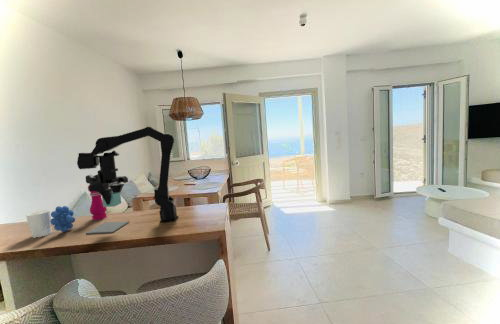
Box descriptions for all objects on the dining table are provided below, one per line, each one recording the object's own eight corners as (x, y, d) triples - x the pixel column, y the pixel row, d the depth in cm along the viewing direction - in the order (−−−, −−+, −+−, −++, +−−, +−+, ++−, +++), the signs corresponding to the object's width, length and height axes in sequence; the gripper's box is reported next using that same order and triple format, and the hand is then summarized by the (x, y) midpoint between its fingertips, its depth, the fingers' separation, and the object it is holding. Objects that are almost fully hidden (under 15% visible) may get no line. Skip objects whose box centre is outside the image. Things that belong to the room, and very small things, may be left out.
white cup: (34, 239, 103) (30, 216, 102) (27, 236, 108) (23, 214, 106) (56, 232, 110) (52, 210, 109) (49, 230, 114) (45, 209, 113)
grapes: (63, 236, 104) (58, 209, 102) (48, 237, 104) (43, 210, 103) (84, 226, 115) (80, 201, 114) (70, 227, 116) (66, 202, 115)
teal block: (121, 203, 110) (120, 192, 110) (114, 206, 105) (113, 194, 105) (110, 203, 111) (109, 192, 110) (103, 206, 106) (101, 195, 105)
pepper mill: (102, 220, 123) (96, 180, 120) (88, 221, 123) (81, 181, 121) (110, 215, 130) (105, 177, 128) (97, 216, 130) (91, 178, 128)
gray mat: (129, 222, 116) (129, 221, 116) (113, 232, 104) (112, 231, 104) (104, 223, 117) (104, 222, 117) (86, 234, 105) (85, 232, 105)
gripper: (103, 165, 116) (107, 198, 118) (73, 171, 98) (78, 210, 99) (126, 164, 115) (130, 197, 117) (100, 170, 97) (105, 208, 99)
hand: (112, 202), depth 108 cm, fingers closed on teal block, 5 cm apart
